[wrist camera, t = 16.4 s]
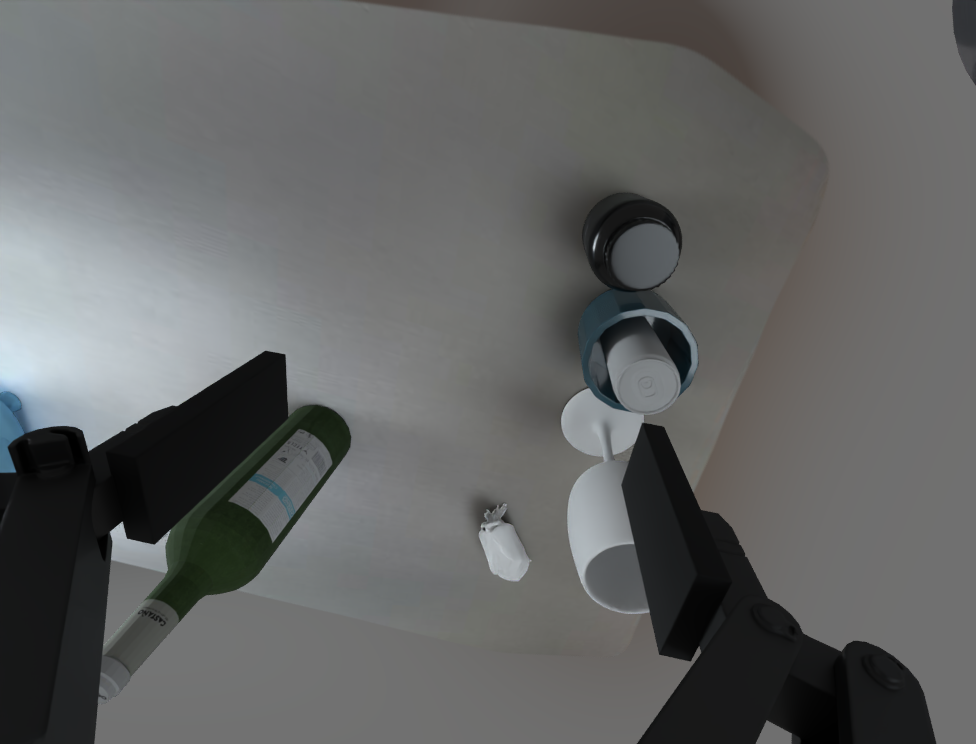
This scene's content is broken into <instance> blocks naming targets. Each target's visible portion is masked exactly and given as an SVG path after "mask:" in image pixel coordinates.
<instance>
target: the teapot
mask: <svg viewBox="0 0 976 744" xmlns="http://www.w3.org/2000/svg"><path fill="white" fill-rule="evenodd" d="M20 409H21V403H20V401H19V399H18V398H17V397H16V396H15V395H14V394H12V393H10V392H2V393H1V394H0V473H9V472H16V470H15V467H14V465H13V462H12V459H11V456H10V453H9V451H8V448H7V447H8V446H9V445H10V443H11V442H12V441H13V440H15V439H17V438H18V437H20V436H22V435H24V432H23V429H22V427H21V425H20V423H19V422H18V420H17V418H16V417H15V416H14V414H13V412H15V411H18V410H20Z"/></svg>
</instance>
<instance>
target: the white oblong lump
mask: <svg viewBox="0 0 976 744" xmlns="http://www.w3.org/2000/svg"><path fill="white" fill-rule="evenodd" d="M502 505H503V506H502V507H501V508H500V509H499V508H498V507H499V506H498V505H497V508H496V509H494V511H493V512H492V513H490V511H489V510H488V509H486V511H487V512H486V513H484V515H485V518H486V520H487V521H486V522H484V523H482V525H481V531H480V532H479V538H480V541H481V543H482V546H483V549H484V552H485V554H486V557H487V560H488V563H489V567H490V570H491V571H492V573H493V574H495V575H496V574H499V577H501V578H504V579H505V580H509V581H519V580H520V579H521V578H522V577H523V576H524V574H525V573H526V572H527V570H528V566H529V562H531V561H532V560H531V559H529V557H528V555H527V553H526V552H525V548H524V546H523V544H522V543H521V541H520V539H519V537H518V535H517V533H516V531H515V528H514V526H513V525H511V524H509V523H505V522H504V521H503V520H501V517H502V516H503V514H504V512H505V511H506V509H507V507H506V506H507V504H506V503H503V504H502ZM505 507H506V508H505Z"/></svg>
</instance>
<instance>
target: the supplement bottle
mask: <svg viewBox="0 0 976 744" xmlns="http://www.w3.org/2000/svg"><path fill="white" fill-rule="evenodd" d="M582 241H583V246H584V250H585V253H586V255H587V258H588V261H589V264H590V267H591V269H592V271H593V272H594V274H595V275H596V277H597V278H598V279H599V280H600V281H601V282H602V283H603V284H605V285H606V286H608V287H610V288H612V289H614V290H617V291H621V292H639V291H647V290H652V289H654V288H655V287H659V286H660V285H661V284H662V283H665V282H666V280H667V279H668V278H670V277H671V274H672V273H673V272H674V271H675V267H676V266H677V265H678V260H679V257H680V253H681V249H682V233H681V229H680V226H679V224H678V221H677V220H676V218H675V217H674V215H673V214H672V213H671V212H670V211H669V210H668V209H667V208H666V207H664V206H663V205H661V204H659V203H657V202H655V201H653V200H650V199H648V198H645V197H643V196H640V195H637V194H633V193H617V194H613V195H610V196H608V197H606V198H604V199H603V200H601V201H600V202H598V203H597V204H596V205H595V206H594V207H593V208H592V210H591V211H590V212H589V214H588V216H587V217H586V220H585V222H584V226H583V231H582Z"/></svg>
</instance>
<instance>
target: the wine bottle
mask: <svg viewBox="0 0 976 744" xmlns="http://www.w3.org/2000/svg"><path fill="white" fill-rule="evenodd" d="M350 443H351V435H350V432H349V428H348V426H347V425H346V423H345V422H344V420H343V419H342V418H341V417H340V416H339V415H338V414H337V413H335V412H334V411H332V410H330V409H328V408H326V407H322V406H318V405H312V406H304V407H302V408H299V409H297V410H296V411H295V412H294V413H293V414H292V415H291V416H290V417H288V419H287V420H286V421H285V422H284V423H283V424H282V425H281V426H280V427H279V428H278V429H277V430H276V431H275V432H273V433H272V434H271V435H270V436H269V437H268V438H267V439H266V440H265V441H264V442H263V443H262V444H261V445H260V446H259V447H258V448H256V449H255V450H254V451H253V452H252V453H251V454H250V455H249V456H248V457H247V458H246V459H245V460H244V461H243V462H242V463H241V464H240V465H238V466H237V467H236V468H235V469H234V470H233V471H232V472H231V473H230V474H229V475H228V476H227V477H226V478H225V479H224V480H223V481H221V482H220V483H219V484H218V485H217V486H216V487H215V488H214V489H213V490H212V491H211V492H210V493H209V494H208V495H207V496H206V497H204V498H203V499H202V500H201V501H200V502H199V503H198V504H197V505H196V506H195V507H194V508H193V509H192V510H191V511H190V512H189V513H188V514H186V515H185V516H184V517H183V518H182V519H181V520H180V521H179V522H178V523H177V524H176V525H175V526H174V527H173V528H172V529H171V531H170V534H169V537H168V540H167V543H166V559H167V565H168V571H167V573H166V575H165V578H164V579H163V580H162V581H161V582H160V583H159V584H158V586H157V587H156V588H155V589H154V590H153V591H152V592H151V593H150V595H149V596H148V597H147V598H146V599H145V600H144V601H143V602H142V604H141V605H140V606H139V607H138V608H137V609H136V610H135V611H134V612H133V613H132V615H131V616H130V617H129V618H128V619H127V620H126V621H125V622H124V624H123V625H122V626H121V627H120V628H119V629H118V630H117V631H116V632H115V634H114V635H113V636H112V637H111V638H110V639H109V640H108V641H107V643H106V644H105V645H104V646H103V652H102V663H101V674H100V685H99V696H98V704H104V703H107V702H108V701H109V700H110V699H111V698H112V697H115V696H117V695H118V694H119V693H120V692H121V690H122V689H123V688H124V687H125V686H126V685H127V683H128V682H129V681H130V678H131V676H132V675H133V674H134V673H135V671H136V670H137V669H138V668H139V667H140V666H141V665H142V664H143V662H144V661H145V660H146V659H147V658H148V657H149V656H150V655H151V653H152V652H153V651H154V650H155V649H156V648H157V647H158V646H159V644H160V643H161V642H162V641H163V640H164V639H165V638H166V636H167V635H168V634H169V633H170V632H171V631H172V630H173V629H174V627H175V626H176V625H177V624H178V623H179V622H180V621H181V619H182V618H183V617H184V616H185V615H186V614H187V613H188V612H189V611H190V609H191V608H192V607H193V606H194V605H195V604H196V603H197V601H198V600H200V599H201V598H202V597H204V596H206V595H214V594H221V593H226V592H230V591H234V590H237V589H239V588H241V587H242V586H244V585H246V584H247V583H249V582H250V581H251V580H252V579H254V578H255V577H256V576H257V575H258V574H259V572H260V571H261V570H262V568H263V567H264V566H265V564H266V563H267V562H268V560H269V559H270V557H271V556H272V555H273V553H274V552H275V551H276V549H277V548H278V547H279V545H280V544H281V542H282V541H283V540H284V538H285V537H286V536H287V534H288V533H289V532H290V530H291V529H292V527H293V526H294V525H295V523H296V522H297V521H298V519H299V518H300V517H301V515H302V514H303V512H304V511H305V510H306V508H307V507H308V506H309V504H310V503H311V502H312V500H313V499H314V497H315V496H316V495H317V493H318V492H319V491H320V489H321V488H322V487H323V485H324V484H325V482H326V481H327V480H328V478H329V477H330V476H331V474H332V473H333V472H334V470H335V469H336V467H337V466H338V465H339V463H340V462H341V461H342V459H343V458H344V457H345V455H346V454H347V452H348V450H349V448H350Z"/></svg>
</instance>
